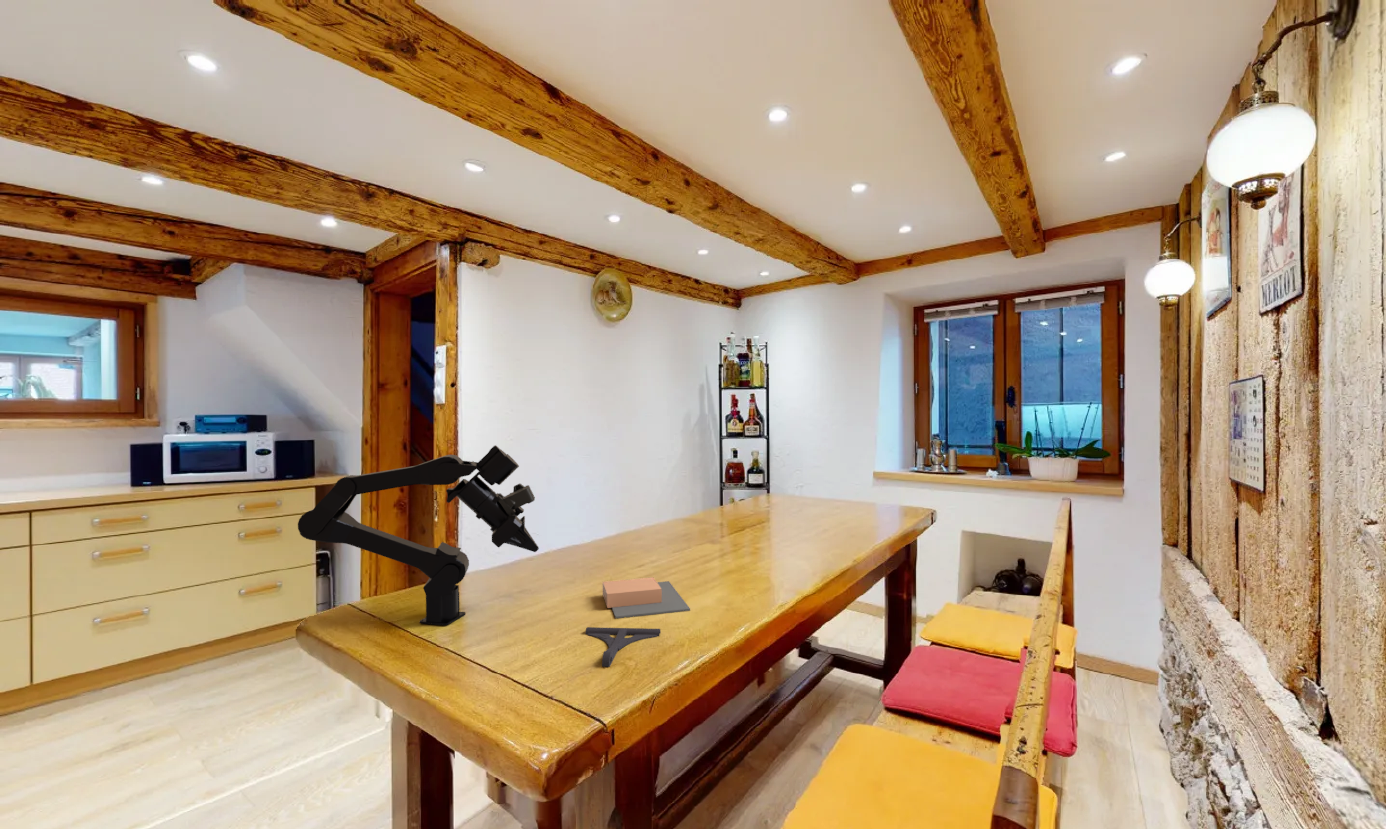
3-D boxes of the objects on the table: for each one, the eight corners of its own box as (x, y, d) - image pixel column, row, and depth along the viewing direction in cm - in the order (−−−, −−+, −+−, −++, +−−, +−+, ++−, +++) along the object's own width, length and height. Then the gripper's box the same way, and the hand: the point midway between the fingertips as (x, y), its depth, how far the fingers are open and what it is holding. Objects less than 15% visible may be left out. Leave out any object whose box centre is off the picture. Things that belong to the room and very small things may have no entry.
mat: (615, 618, 115) (615, 616, 115) (604, 588, 134) (604, 587, 134) (690, 610, 119) (690, 608, 119) (668, 582, 138) (668, 581, 138)
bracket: (563, 670, 94) (563, 653, 94) (587, 634, 108) (587, 620, 108) (648, 673, 93) (648, 656, 92) (660, 636, 107) (660, 622, 107)
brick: (607, 594, 120) (661, 588, 123) (602, 581, 128) (653, 577, 132) (607, 608, 120) (661, 602, 123) (602, 594, 128) (653, 589, 132)
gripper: (509, 478, 110) (566, 531, 113) (513, 469, 128) (562, 515, 131) (466, 520, 107) (525, 573, 110) (477, 504, 125) (527, 550, 128)
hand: (537, 550), depth 120 cm, fingers closed
